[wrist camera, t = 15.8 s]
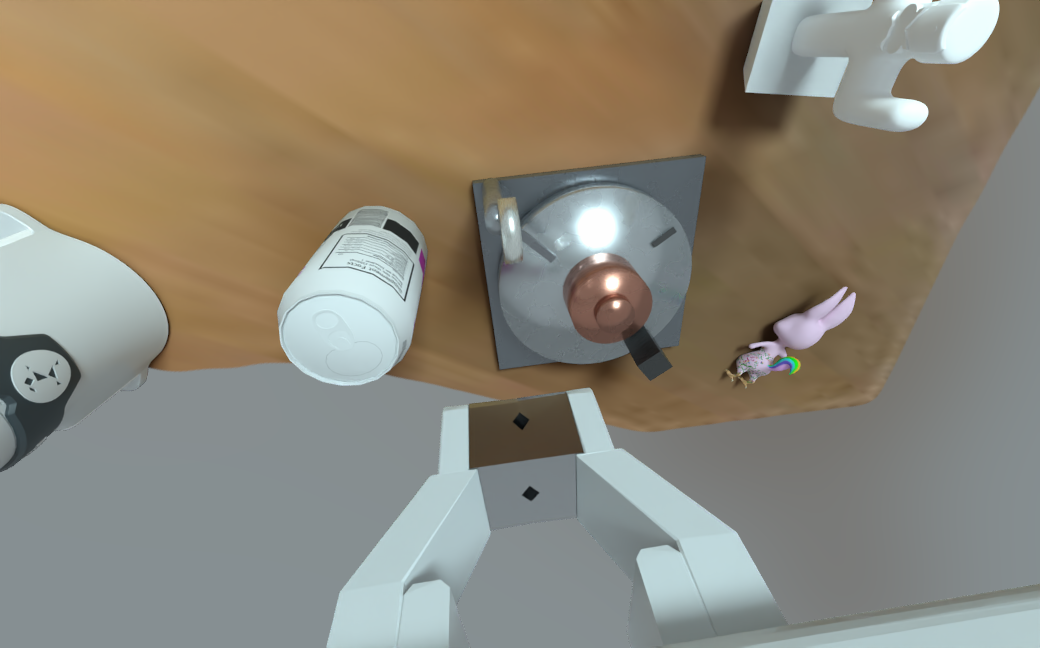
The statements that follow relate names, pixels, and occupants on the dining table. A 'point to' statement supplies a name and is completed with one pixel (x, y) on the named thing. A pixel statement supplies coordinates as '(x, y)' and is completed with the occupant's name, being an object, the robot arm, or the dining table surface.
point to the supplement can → (356, 299)
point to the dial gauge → (508, 224)
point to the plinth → (658, 178)
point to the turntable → (579, 234)
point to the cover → (606, 298)
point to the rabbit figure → (794, 337)
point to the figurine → (861, 51)
